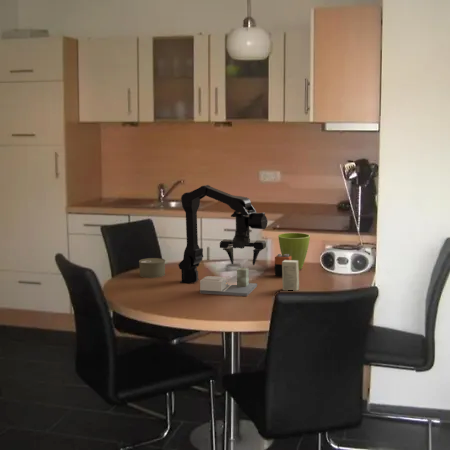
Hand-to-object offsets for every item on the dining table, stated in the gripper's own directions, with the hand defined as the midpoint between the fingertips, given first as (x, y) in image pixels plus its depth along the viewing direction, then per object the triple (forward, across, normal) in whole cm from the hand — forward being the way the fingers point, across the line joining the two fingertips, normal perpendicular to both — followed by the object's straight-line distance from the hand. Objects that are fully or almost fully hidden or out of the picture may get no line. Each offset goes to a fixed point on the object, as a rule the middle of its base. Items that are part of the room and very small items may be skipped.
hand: (243, 264), depth 281 cm
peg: (+9, 0, 0) cm, 9 cm away
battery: (+10, +12, +26) cm, 30 cm away
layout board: (+10, -5, -4) cm, 12 cm away
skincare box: (+10, +20, +2) cm, 22 cm away
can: (+10, -47, +15) cm, 51 cm away
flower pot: (+10, +14, +42) cm, 45 cm away
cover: (+8, -10, -10) cm, 17 cm away
